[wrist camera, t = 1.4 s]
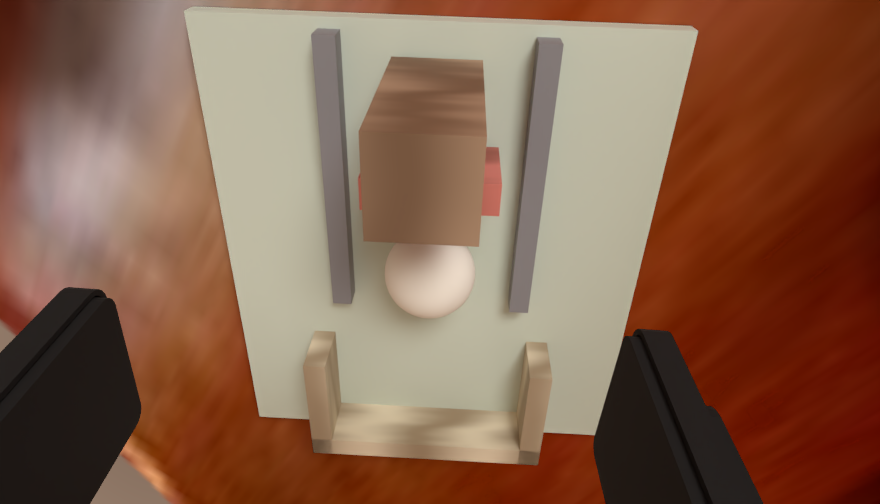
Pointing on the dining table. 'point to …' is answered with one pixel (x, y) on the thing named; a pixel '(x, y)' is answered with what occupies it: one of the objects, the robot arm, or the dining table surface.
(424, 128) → the block
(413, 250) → the ball
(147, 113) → the dining table surface
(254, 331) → the board
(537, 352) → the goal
